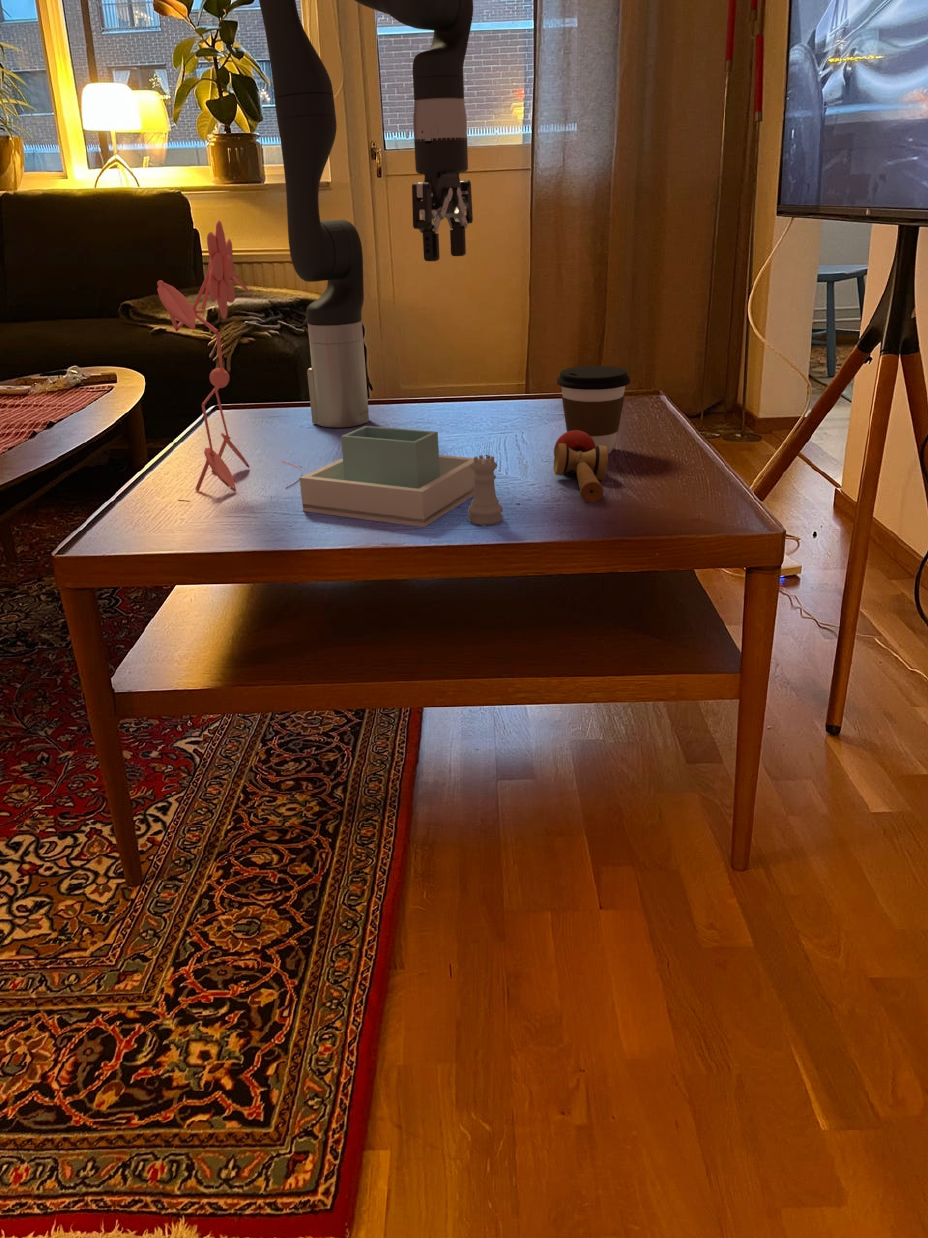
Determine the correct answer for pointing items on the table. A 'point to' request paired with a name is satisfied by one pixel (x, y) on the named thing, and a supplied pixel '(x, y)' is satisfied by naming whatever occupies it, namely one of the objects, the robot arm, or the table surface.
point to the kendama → (582, 462)
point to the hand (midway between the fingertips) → (445, 258)
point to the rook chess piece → (484, 493)
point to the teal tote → (391, 456)
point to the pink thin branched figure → (182, 310)
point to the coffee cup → (594, 401)
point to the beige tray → (388, 494)
